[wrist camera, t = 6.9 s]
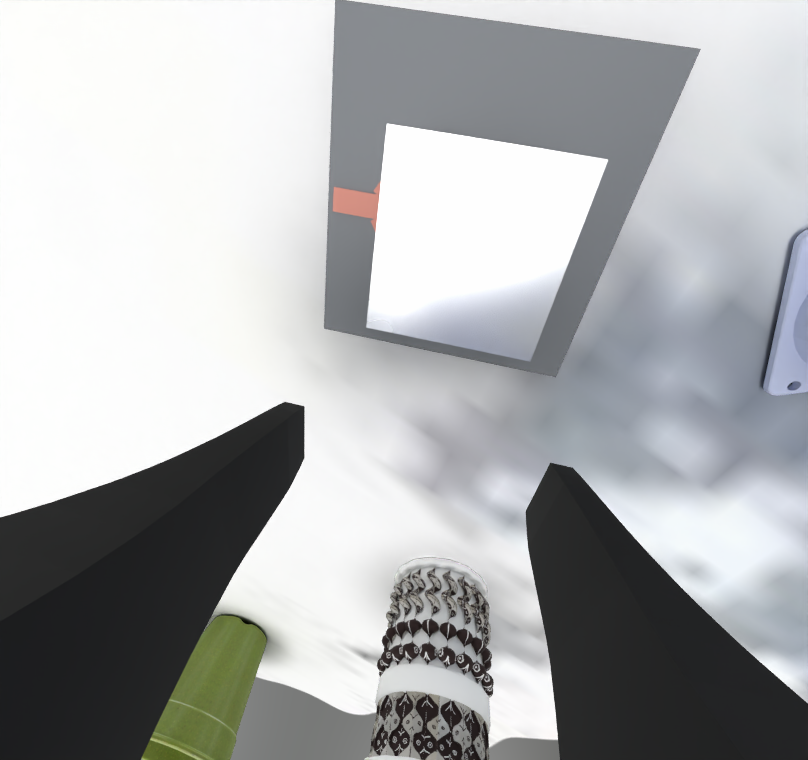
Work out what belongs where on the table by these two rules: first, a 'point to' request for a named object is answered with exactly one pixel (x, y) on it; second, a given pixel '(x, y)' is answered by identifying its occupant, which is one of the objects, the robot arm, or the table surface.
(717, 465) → the table surface
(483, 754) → the decorative candle
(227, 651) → the plant pot
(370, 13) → the grey socket base
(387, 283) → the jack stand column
